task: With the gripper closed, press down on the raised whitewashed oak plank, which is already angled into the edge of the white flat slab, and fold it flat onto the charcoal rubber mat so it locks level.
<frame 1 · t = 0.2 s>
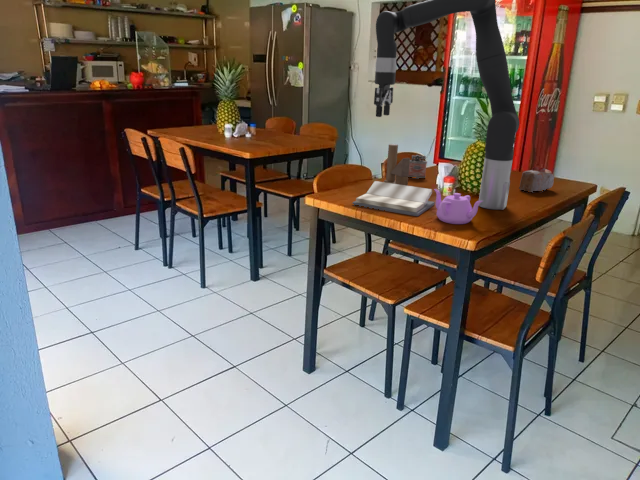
hand: (382, 116, 189), 29 cm above the table, fingers open, 8 cm apart
white flat slab: (389, 207, 174), resting on underlay mat
food item: (535, 190, 206), on the table
underlay mat: (393, 204, 177), on the table
teapot: (454, 220, 162), on the table
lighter: (416, 178, 223), on the table
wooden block: (394, 192, 196), on the table
loose plank: (398, 193, 179), point 3 cm above the table, hinge at 24.0°
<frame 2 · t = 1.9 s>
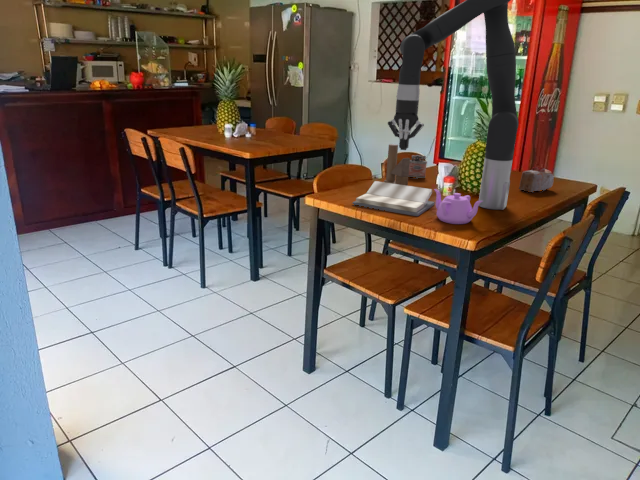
hand: (403, 149, 175), 19 cm above the table, fingers closed
nothing on the table moved.
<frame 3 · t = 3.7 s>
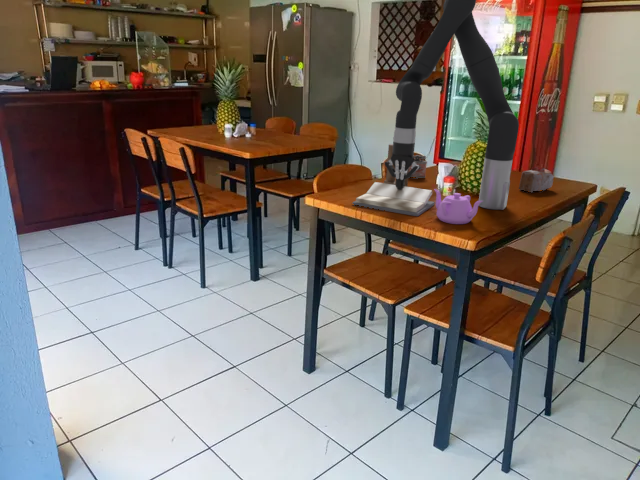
hand: (399, 189, 180), 5 cm above the table, fingers closed
loose plank: (398, 193, 180), point 3 cm above the table, hinge at 20.8°, touching gripper
everything else where it was.
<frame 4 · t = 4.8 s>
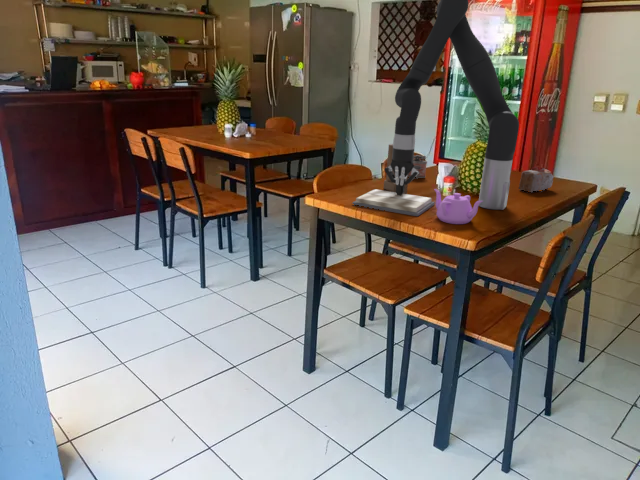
hand: (399, 194, 181), 3 cm above the table, fingers closed
loose plank: (398, 197, 180), point 2 cm above the table, hinge at -0.4°, touching gripper, underlay mat
everything else where it was.
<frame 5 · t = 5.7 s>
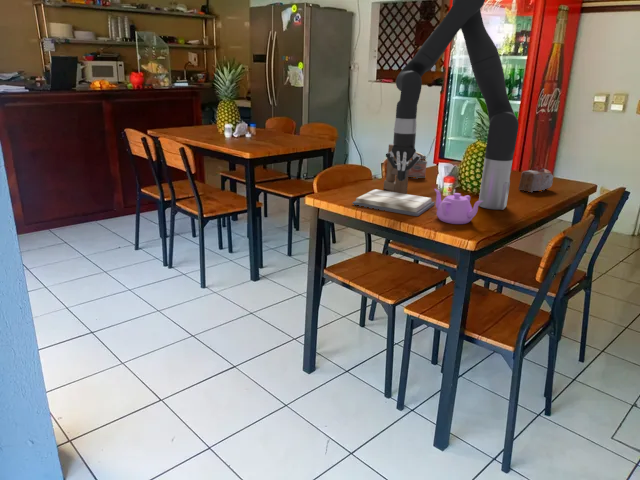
hand: (401, 180, 178), 8 cm above the table, fingers closed
loose plank: (398, 197, 180), point 2 cm above the table, hinge at -0.4°, touching underlay mat
everything else where it was.
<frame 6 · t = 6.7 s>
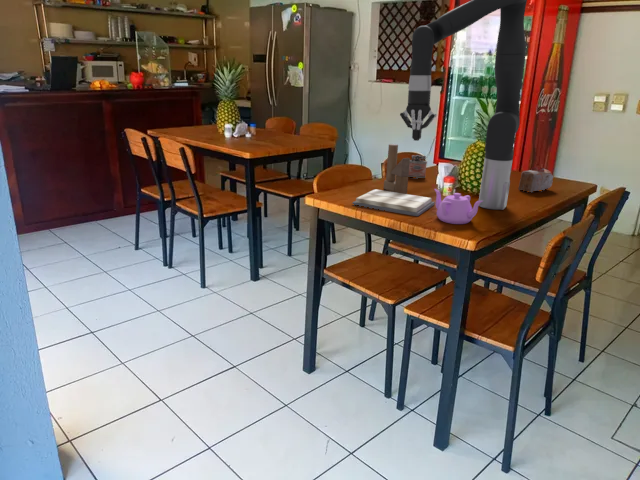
hand: (416, 140, 177), 22 cm above the table, fingers closed
nothing on the table moved.
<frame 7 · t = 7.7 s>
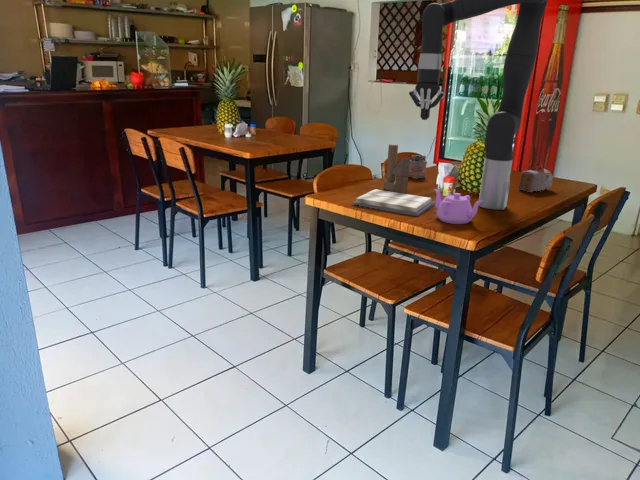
hand: (424, 119, 177), 29 cm above the table, fingers closed
nothing on the table moved.
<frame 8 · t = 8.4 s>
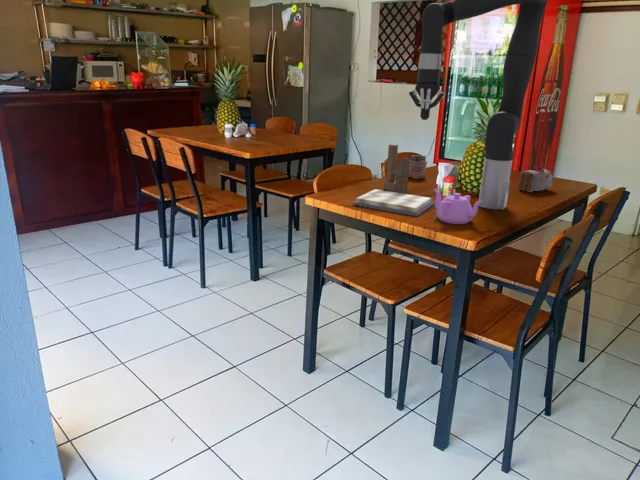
hand: (424, 119, 177), 29 cm above the table, fingers closed
nothing on the table moved.
at the end: loose plank at +0° (first picture: +24°); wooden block moved 0.2 cm from its start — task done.
